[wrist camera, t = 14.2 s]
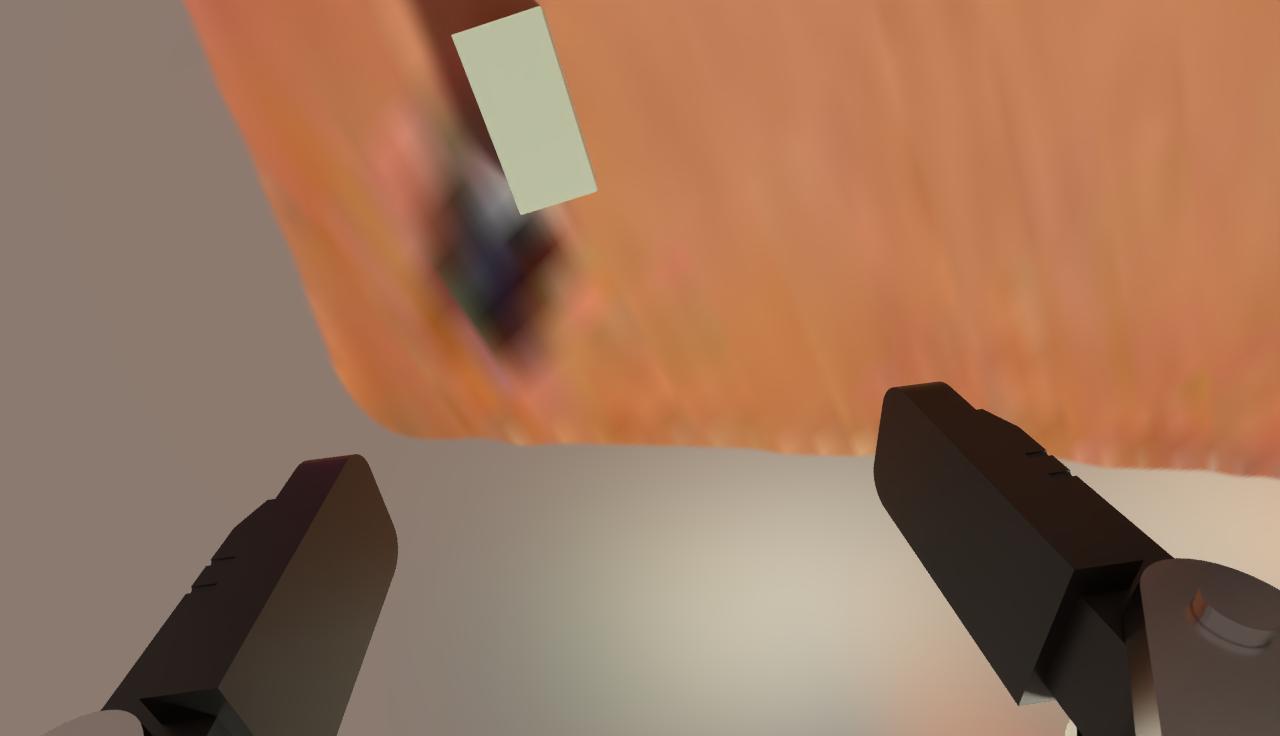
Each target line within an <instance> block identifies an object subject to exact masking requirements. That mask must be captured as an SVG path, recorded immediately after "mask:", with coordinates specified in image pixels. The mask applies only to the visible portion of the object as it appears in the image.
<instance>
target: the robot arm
mask: <svg viewBox="0 0 1280 736" xmlns="http://www.w3.org/2000/svg"><path fill="white" fill-rule="evenodd" d="M1046 451H1047V450H1045V449H1044V448H1043V447H1042V446H1041V445H1040V444H1038V443H1037V442H1036V441H1035V440H1034V439H1032V438H1031V437H1030V436H1029V435H1028V434H1027V433H1025V432H1024V431H1023V430H1022V429H1021V428H1019V427H1018V426H1016V425H1014V424H1012V423H1010V422H1008V421H1006V420H1004V419H1002V418H999V417H997V416H995V415H993V414H991V413H989V412H987V411H985V410H983V409H979V410H976V409H975V408H974V407H972V406H971V405H970V404H969V403H968V402H967V401H966V400H965V399H963V398H962V397H961V396H960V395H959V394H958V393H957V392H956V391H954V390H953V389H952V388H951V387H950V386H949V385H947V384H946V383H944V382H932V383H924V384H916V385H908V386H901V387H893V388H890V389H889V390H888V391H887V392H886V394H885V396H884V400H883V405H882V412H881V419H880V426H879V433H878V440H877V447H876V454H875V462H874V480H875V485H876V489H877V493H878V496H879V498H880V500H881V502H882V504H883V506H884V508H885V509H886V511H887V512H888V513H889V515H890V516H891V518H892V519H893V521H894V522H895V524H896V525H897V527H898V528H899V530H900V531H901V533H902V534H903V536H904V537H905V539H906V540H907V542H908V543H909V545H910V546H911V547H912V549H913V551H914V552H915V554H916V555H917V557H918V558H919V559H920V561H921V562H922V564H923V565H924V567H925V568H926V570H927V571H928V573H929V574H930V576H931V577H932V579H933V580H934V582H935V583H936V585H937V586H938V588H939V589H940V590H941V592H942V594H943V595H944V596H945V598H946V599H947V601H948V602H949V604H950V605H951V607H952V608H953V610H954V611H955V613H956V614H957V616H958V617H959V619H960V620H961V621H962V623H963V625H964V626H965V628H966V629H967V630H968V632H969V634H970V635H971V636H972V638H973V639H974V641H975V642H976V644H977V645H978V647H979V648H980V650H981V651H982V653H983V654H984V656H985V657H986V659H987V660H988V662H989V663H990V664H991V666H992V668H993V669H994V671H995V672H996V673H997V675H998V676H999V678H1000V679H1001V681H1002V682H1003V684H1004V685H1005V687H1006V688H1007V690H1008V691H1009V693H1010V694H1011V696H1012V697H1013V699H1014V700H1015V702H1016V703H1017V705H1018V706H1022V705H1029V704H1035V703H1042V702H1047V701H1055V700H1057V702H1058V703H1059V704H1060V706H1061V707H1062V709H1063V710H1064V711H1065V713H1066V714H1067V715H1068V717H1069V718H1070V720H1069V722H1068V724H1067V727H1066V729H1065V736H1280V590H1278V589H1277V588H1275V587H1273V586H1271V585H1270V584H1268V583H1266V582H1264V581H1261V580H1259V579H1257V578H1255V577H1253V576H1251V575H1248V574H1246V573H1243V572H1241V571H1238V570H1235V569H1233V568H1229V567H1226V566H1223V565H1220V564H1216V563H1211V562H1207V561H1202V560H1195V559H1181V558H1179V559H1178V558H1176V559H1175V558H1173V557H1172V556H1171V555H1169V554H1168V553H1167V552H1166V551H1165V550H1164V549H1162V548H1161V547H1160V546H1159V545H1158V544H1156V543H1155V542H1154V541H1153V540H1152V539H1151V538H1150V537H1148V536H1147V535H1146V534H1145V533H1144V532H1142V531H1141V530H1140V529H1139V528H1138V527H1136V526H1135V525H1134V524H1133V523H1132V522H1131V521H1129V520H1128V519H1127V518H1126V517H1125V516H1123V515H1122V514H1121V513H1120V512H1119V511H1118V510H1116V509H1115V508H1114V507H1113V506H1112V505H1110V504H1109V503H1108V502H1107V501H1106V500H1105V499H1103V498H1102V497H1101V496H1100V495H1099V494H1097V493H1096V492H1095V491H1094V490H1093V489H1092V488H1090V487H1089V486H1088V485H1087V484H1086V483H1084V482H1083V481H1082V480H1081V479H1080V478H1079V477H1077V476H1071V474H1070V470H1069V469H1068V468H1067V467H1066V466H1064V465H1063V464H1062V463H1061V462H1060V461H1058V460H1057V459H1056V458H1055V457H1054V456H1053V455H1050V456H1048V455H1047V453H1046ZM397 557H398V543H397V535H396V531H395V528H394V525H393V523H392V520H391V518H390V515H389V513H388V511H387V508H386V506H385V503H384V501H383V498H382V496H381V494H380V491H379V489H378V486H377V484H376V481H375V479H374V477H373V474H372V472H371V469H370V467H369V464H368V463H367V461H366V460H365V458H364V457H362V456H361V455H358V454H355V455H347V456H340V457H332V458H323V459H315V460H309V461H304V462H302V463H301V464H300V465H299V466H298V467H297V468H296V469H295V471H294V472H293V474H292V475H291V477H290V478H289V480H288V481H287V483H286V484H285V486H284V487H283V488H282V490H281V491H280V493H279V494H278V496H277V497H276V499H272V500H267V501H266V502H265V503H263V504H262V505H261V506H260V507H259V508H258V509H256V510H255V511H254V512H253V513H252V514H250V515H249V516H248V517H247V518H245V519H244V520H243V521H242V522H241V523H239V524H238V525H237V526H236V527H235V528H234V529H233V530H232V531H231V533H230V534H229V535H228V537H227V538H226V540H225V541H224V543H223V544H222V545H221V547H220V548H219V549H218V551H217V552H216V553H215V555H214V556H213V557H212V559H211V561H212V563H211V566H206V567H205V569H204V570H203V571H202V573H201V574H200V575H199V577H198V578H197V579H196V581H195V582H194V584H193V585H192V592H191V593H189V594H186V595H185V596H184V597H183V599H182V600H181V601H180V603H179V604H178V606H177V607H176V609H175V610H174V611H173V612H172V614H171V615H170V616H169V618H168V619H167V621H166V622H165V623H164V625H163V626H162V628H161V629H160V630H159V632H158V633H157V634H156V636H155V637H154V638H153V640H152V641H151V643H150V644H149V645H148V647H147V648H146V649H145V651H144V652H143V654H142V655H141V656H140V658H139V659H138V661H137V662H136V663H135V665H134V666H133V667H132V669H131V670H130V671H129V673H128V674H127V676H126V677H125V678H124V680H123V681H122V682H121V684H120V685H119V687H118V688H117V689H116V691H115V692H114V694H113V695H112V696H111V697H110V699H109V700H108V702H107V703H106V704H105V706H104V707H103V708H102V709H101V711H99V712H94V713H91V714H87V715H84V716H81V717H78V718H76V719H73V720H71V721H69V722H66V723H64V724H62V725H60V726H58V727H56V728H54V729H53V730H51V731H49V732H47V733H45V734H44V735H42V736H336V735H337V732H338V730H339V727H340V724H341V721H342V718H343V715H344V712H345V710H346V707H347V704H348V702H349V699H350V696H351V693H352V690H353V687H354V684H355V682H356V679H357V676H358V673H359V671H360V668H361V665H362V662H363V659H364V656H365V654H366V650H367V648H368V645H369V642H370V640H371V637H372V634H373V631H374V628H375V626H376V623H377V620H378V617H379V614H380V611H381V609H382V606H383V603H384V600H385V598H386V595H387V592H388V589H389V586H390V583H391V580H392V578H393V575H394V572H395V569H396V564H397Z"/></svg>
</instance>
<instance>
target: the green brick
mask: <svg viewBox="0 0 1280 736" xmlns="http://www.w3.org/2000/svg"><path fill="white" fill-rule="evenodd" d="M451 36H452V38H453V41H454V44H455V46H456V49H457V51H458V54H459V57H460V59H461V62H462V64H463V67H464V70H465V72H466V75H467V77H468V80H469V82H470V85H471V88H472V90H473V93H474V95H475V98H476V101H477V103H478V106H479V108H480V111H481V114H482V116H483V119H484V121H485V124H486V126H487V129H488V132H489V134H490V137H491V139H492V142H493V145H494V147H495V150H496V152H497V155H498V158H499V160H500V163H501V165H502V168H503V171H504V173H505V176H506V178H507V181H508V183H509V186H510V189H511V191H512V194H513V196H514V199H515V202H516V204H517V207H518V209H519V212H520V215H523V214H526V213H529V212H532V211H536V210H539V209H542V208H545V207H549V206H552V205H555V204H558V203H561V202H565V201H568V200H571V199H574V198H578V197H581V196H584V195H587V194H590V193H594V192H597V191H598V189H597V182H596V175H595V171H594V168H593V165H592V162H591V159H590V155H589V152H588V149H587V146H586V142H585V139H584V136H583V133H582V129H581V126H580V123H579V120H578V116H577V113H576V110H575V107H574V103H573V100H572V97H571V94H570V90H569V87H568V84H567V81H566V77H565V74H564V71H563V68H562V64H561V61H560V58H559V55H558V52H557V48H556V45H555V42H554V39H553V35H552V32H551V29H550V26H549V22H548V19H547V16H546V13H545V11H544V10H543V9H542V7H541V6H538V7H535V8H532V9H528V10H525V11H522V12H519V13H516V14H513V15H510V16H507V17H504V18H501V19H498V20H495V21H492V22H489V23H486V24H483V25H480V26H477V27H474V28H471V29H468V30H465V31H462V32H459V33H456V34H453V35H451Z"/></svg>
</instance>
